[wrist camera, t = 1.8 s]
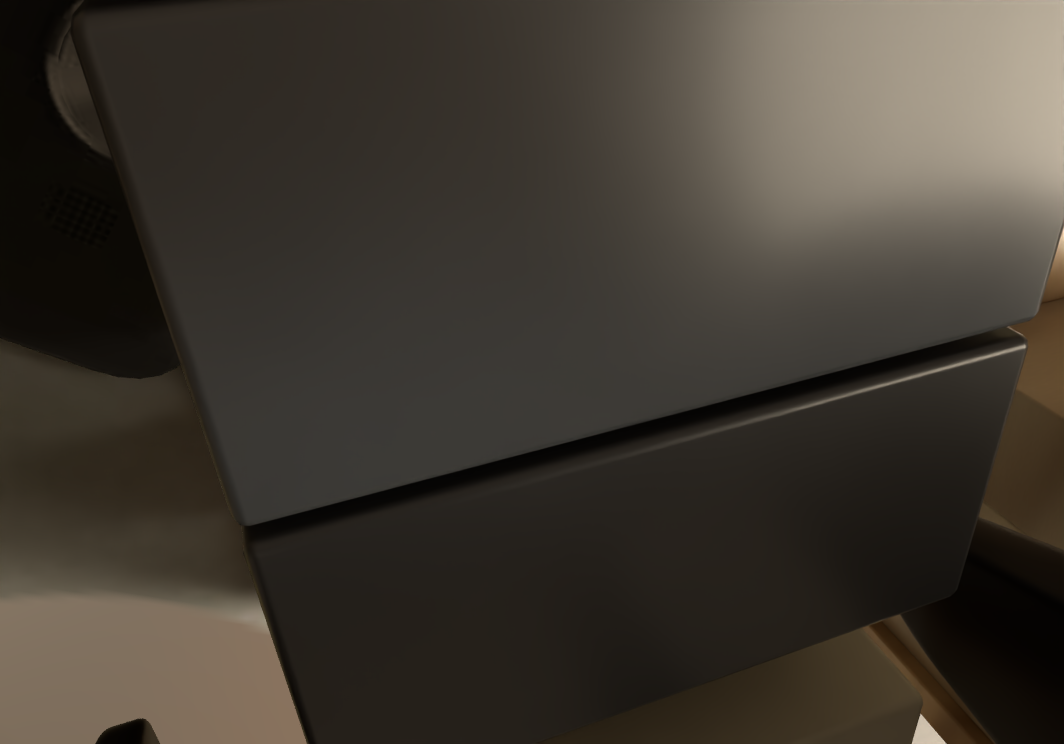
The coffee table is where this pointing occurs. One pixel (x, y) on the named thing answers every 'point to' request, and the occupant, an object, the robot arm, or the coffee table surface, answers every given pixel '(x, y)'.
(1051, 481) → the brown rack
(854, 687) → the cream book
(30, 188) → the smartphone
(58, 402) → the coffee table surface
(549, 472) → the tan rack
